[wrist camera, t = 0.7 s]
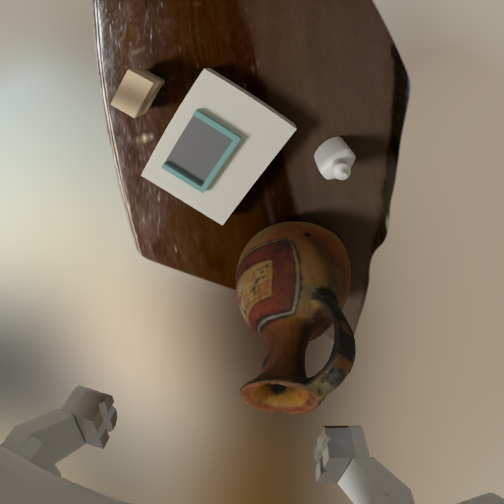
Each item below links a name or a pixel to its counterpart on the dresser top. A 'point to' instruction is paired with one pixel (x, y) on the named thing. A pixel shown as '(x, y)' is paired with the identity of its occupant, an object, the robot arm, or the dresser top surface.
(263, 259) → the ceramic pitcher
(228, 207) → the dock
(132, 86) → the beige wheeled cart
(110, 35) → the dresser top surface
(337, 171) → the eye dropper bottle
